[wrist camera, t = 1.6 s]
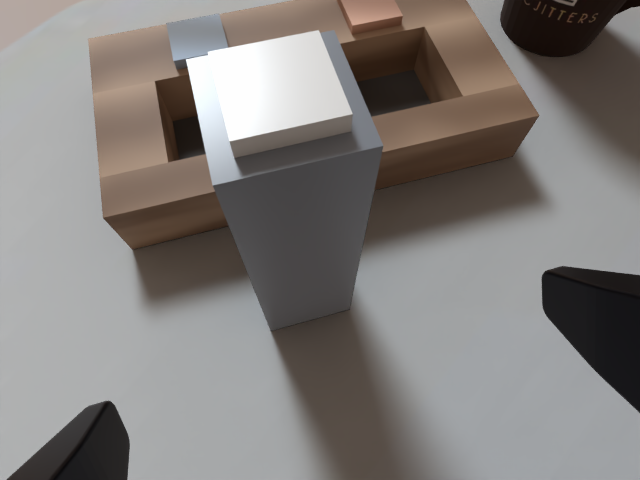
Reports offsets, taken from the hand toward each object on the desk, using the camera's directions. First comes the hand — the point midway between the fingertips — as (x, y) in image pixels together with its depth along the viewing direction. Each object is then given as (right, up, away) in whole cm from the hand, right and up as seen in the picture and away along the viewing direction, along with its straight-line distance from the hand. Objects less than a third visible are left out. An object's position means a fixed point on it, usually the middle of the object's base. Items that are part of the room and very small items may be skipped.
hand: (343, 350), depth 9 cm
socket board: (-1, +10, +18) cm, 21 cm away
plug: (-1, 0, +14) cm, 14 cm away
